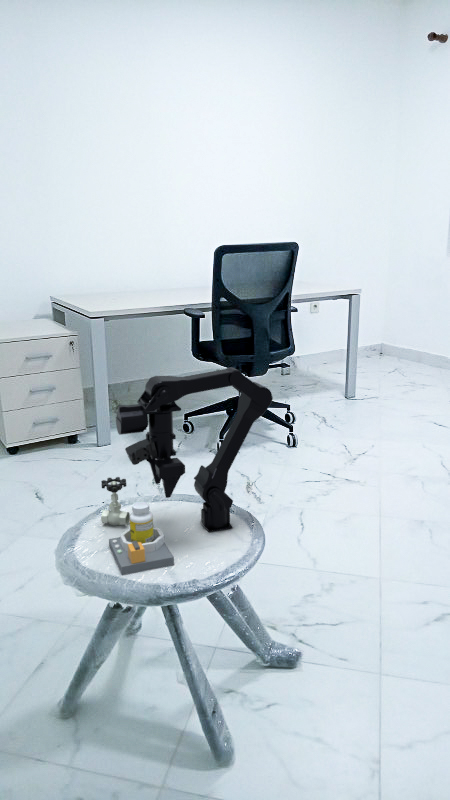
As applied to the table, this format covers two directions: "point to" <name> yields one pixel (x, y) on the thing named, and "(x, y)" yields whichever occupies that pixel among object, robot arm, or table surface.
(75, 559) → the table surface
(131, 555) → the orange block
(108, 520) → the valve
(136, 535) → the supplement bottle
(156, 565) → the octagon socket plate
